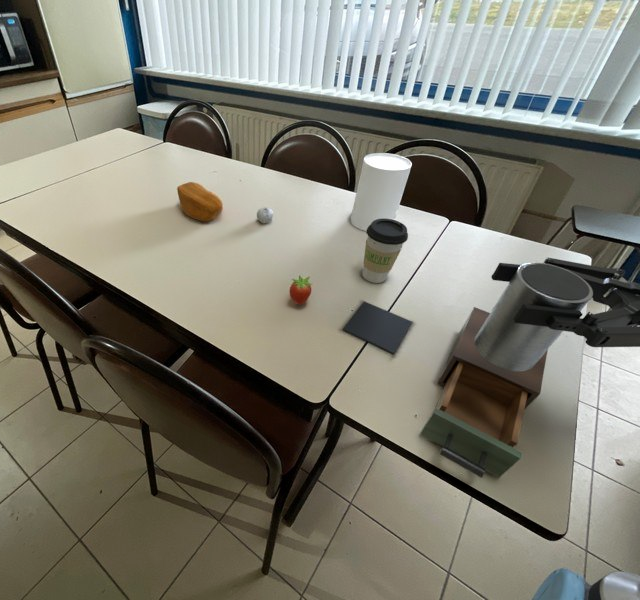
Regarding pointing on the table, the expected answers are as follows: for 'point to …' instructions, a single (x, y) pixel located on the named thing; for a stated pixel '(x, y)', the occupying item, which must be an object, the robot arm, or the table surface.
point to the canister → (379, 188)
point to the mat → (378, 327)
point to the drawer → (478, 421)
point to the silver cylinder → (522, 339)
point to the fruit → (300, 290)
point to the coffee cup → (382, 248)
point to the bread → (199, 202)
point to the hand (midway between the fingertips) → (507, 291)
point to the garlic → (265, 215)
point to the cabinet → (470, 356)
